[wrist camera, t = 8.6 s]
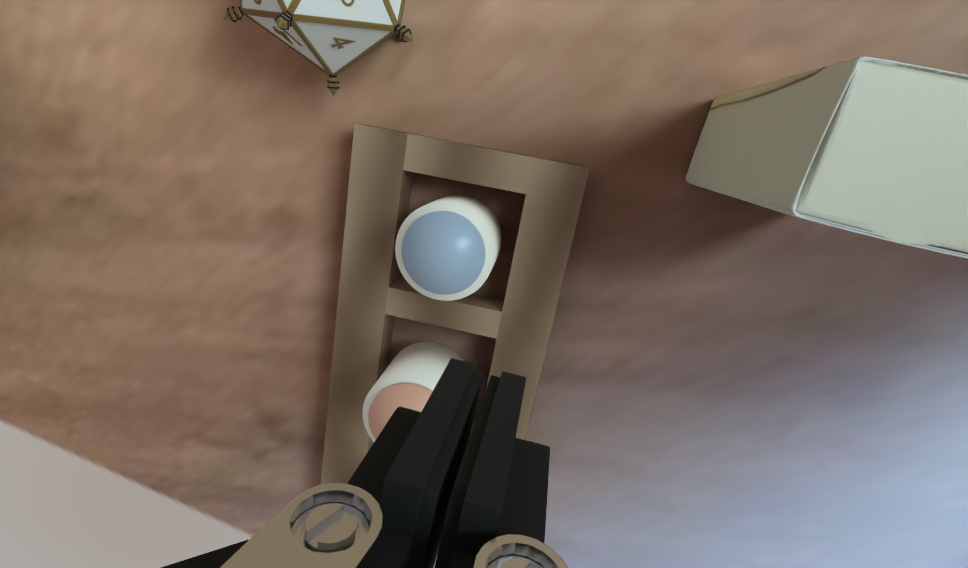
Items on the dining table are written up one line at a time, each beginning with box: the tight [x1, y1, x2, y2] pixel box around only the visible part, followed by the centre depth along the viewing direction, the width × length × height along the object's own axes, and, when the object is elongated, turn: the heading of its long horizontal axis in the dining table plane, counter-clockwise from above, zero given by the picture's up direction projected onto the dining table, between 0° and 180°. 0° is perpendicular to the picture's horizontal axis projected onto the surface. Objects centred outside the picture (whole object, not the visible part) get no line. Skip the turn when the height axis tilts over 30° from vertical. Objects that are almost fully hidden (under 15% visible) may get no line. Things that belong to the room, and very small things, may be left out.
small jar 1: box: [395, 194, 502, 301], centre depth 24 cm, size 5×5×4 cm
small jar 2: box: [363, 342, 464, 442], centre depth 25 cm, size 5×5×4 cm
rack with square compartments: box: [320, 124, 590, 561], centre depth 28 cm, size 12×26×2 cm, turn 169°
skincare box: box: [686, 56, 968, 259], centre depth 18 cm, size 6×4×12 cm
